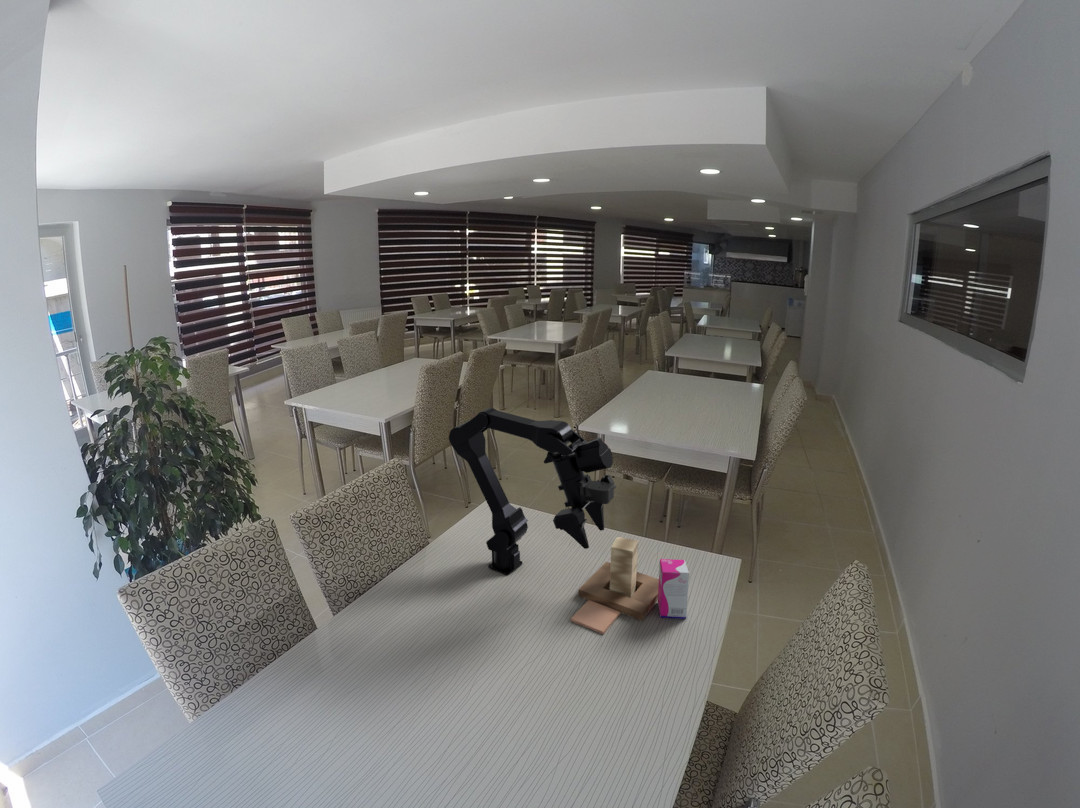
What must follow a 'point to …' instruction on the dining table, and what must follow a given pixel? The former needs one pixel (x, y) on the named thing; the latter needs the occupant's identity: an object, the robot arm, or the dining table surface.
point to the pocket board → (633, 606)
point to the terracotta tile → (595, 616)
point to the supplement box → (673, 588)
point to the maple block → (623, 566)
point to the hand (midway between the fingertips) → (594, 538)
